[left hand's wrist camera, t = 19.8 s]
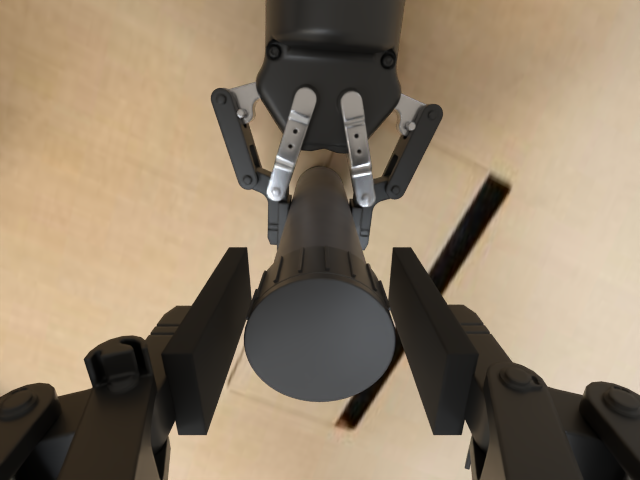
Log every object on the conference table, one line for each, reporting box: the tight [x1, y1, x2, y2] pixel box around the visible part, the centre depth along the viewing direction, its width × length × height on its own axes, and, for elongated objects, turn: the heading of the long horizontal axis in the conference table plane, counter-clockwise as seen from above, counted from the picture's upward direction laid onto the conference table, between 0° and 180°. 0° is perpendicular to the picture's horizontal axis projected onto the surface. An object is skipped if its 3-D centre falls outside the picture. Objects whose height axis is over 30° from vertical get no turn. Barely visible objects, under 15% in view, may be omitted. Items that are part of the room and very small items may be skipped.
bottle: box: [274, 167, 366, 263], centre depth 20 cm, size 4×4×20 cm
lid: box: [244, 245, 396, 402], centre depth 11 cm, size 5×5×2 cm
